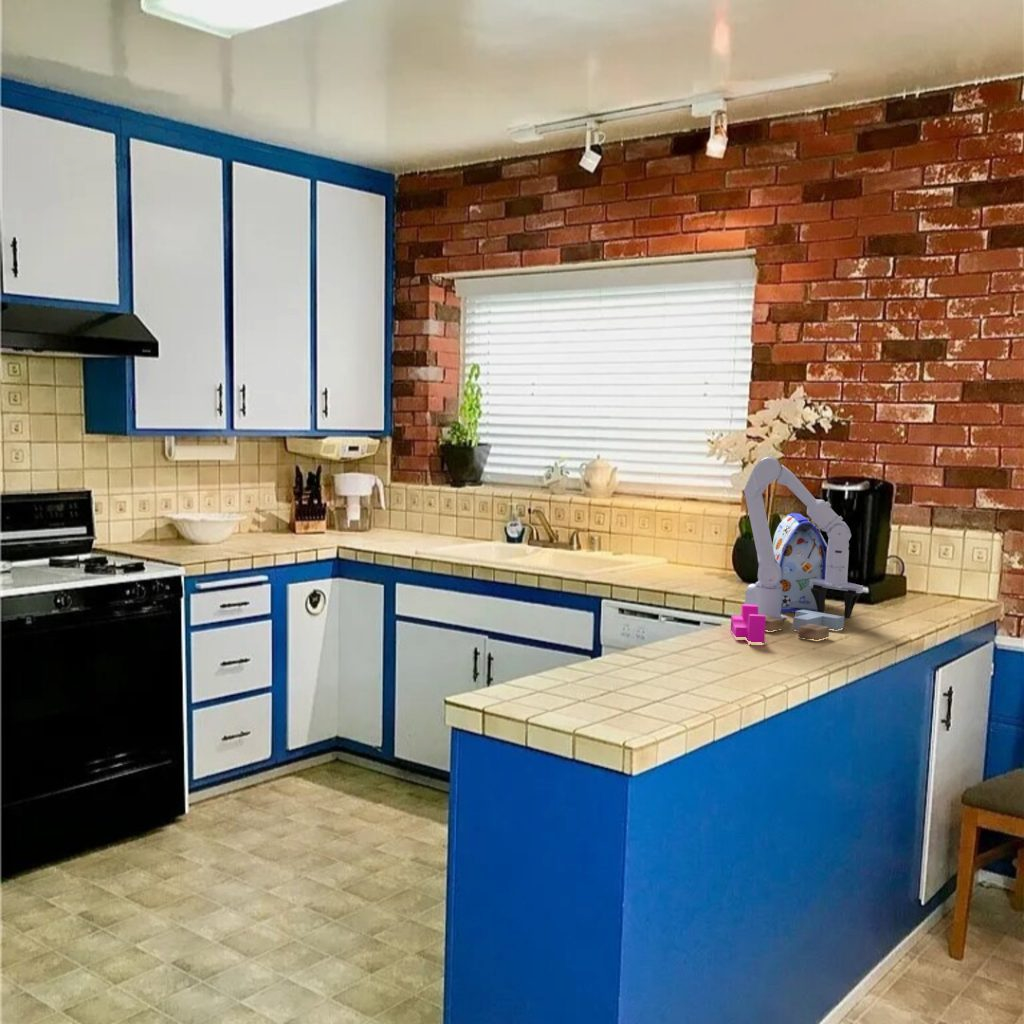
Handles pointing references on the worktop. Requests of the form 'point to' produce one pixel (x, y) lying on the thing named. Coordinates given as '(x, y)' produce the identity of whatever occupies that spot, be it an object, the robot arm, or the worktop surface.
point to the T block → (817, 619)
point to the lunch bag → (799, 561)
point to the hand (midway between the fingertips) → (834, 615)
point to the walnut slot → (804, 631)
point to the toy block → (749, 624)
